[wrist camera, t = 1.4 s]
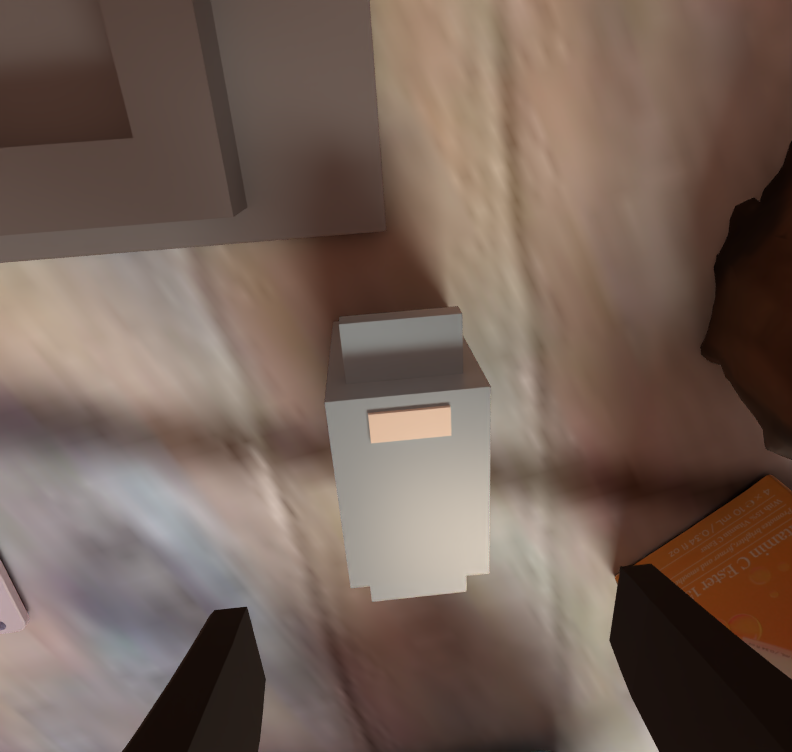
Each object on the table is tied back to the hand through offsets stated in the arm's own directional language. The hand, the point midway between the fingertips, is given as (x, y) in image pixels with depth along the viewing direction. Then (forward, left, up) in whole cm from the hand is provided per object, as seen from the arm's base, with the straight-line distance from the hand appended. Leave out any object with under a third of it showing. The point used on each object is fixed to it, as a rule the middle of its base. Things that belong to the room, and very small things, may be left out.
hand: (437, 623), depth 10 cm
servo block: (0, 0, -10) cm, 10 cm away
